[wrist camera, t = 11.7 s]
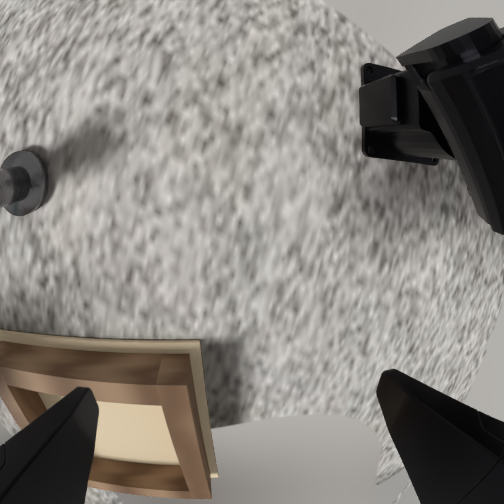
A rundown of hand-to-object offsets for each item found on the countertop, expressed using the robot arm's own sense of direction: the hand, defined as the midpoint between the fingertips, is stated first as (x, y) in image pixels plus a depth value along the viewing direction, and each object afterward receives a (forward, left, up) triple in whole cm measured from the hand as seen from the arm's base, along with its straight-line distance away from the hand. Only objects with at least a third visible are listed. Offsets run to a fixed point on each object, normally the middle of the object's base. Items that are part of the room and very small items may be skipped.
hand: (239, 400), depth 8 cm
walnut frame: (+12, +16, -12) cm, 23 cm away
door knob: (+14, -6, -12) cm, 19 cm away
